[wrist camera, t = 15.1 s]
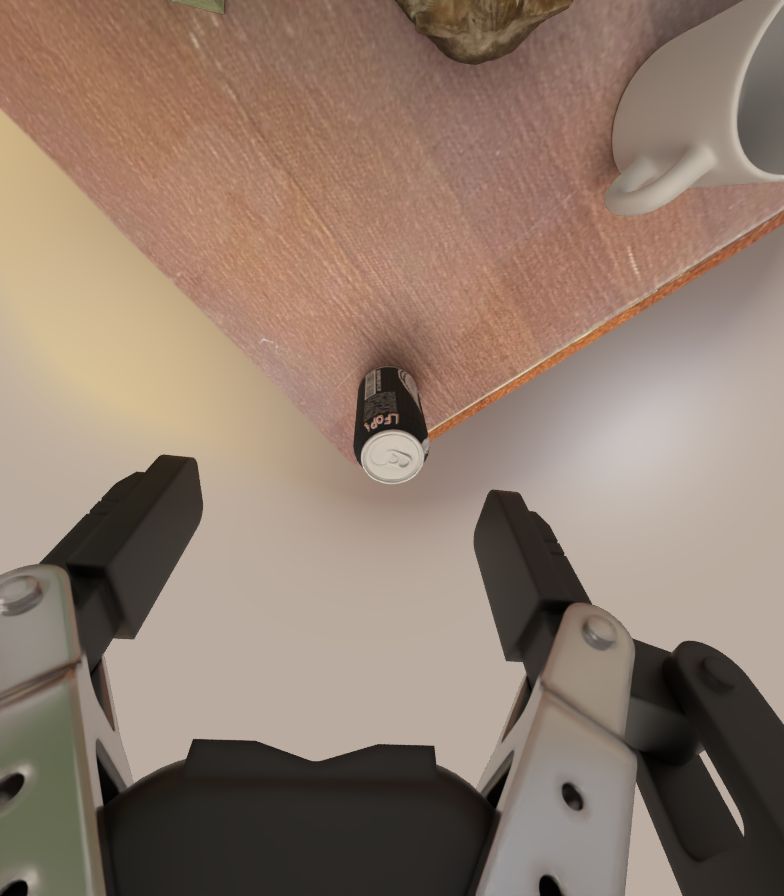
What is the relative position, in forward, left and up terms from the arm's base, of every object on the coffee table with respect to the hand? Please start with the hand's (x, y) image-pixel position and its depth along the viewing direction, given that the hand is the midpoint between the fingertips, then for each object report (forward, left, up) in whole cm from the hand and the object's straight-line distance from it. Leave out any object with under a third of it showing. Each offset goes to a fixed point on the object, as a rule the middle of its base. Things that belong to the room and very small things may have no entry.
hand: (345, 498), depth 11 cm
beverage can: (+3, -8, -26) cm, 28 cm away
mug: (+19, +15, -26) cm, 35 cm away
